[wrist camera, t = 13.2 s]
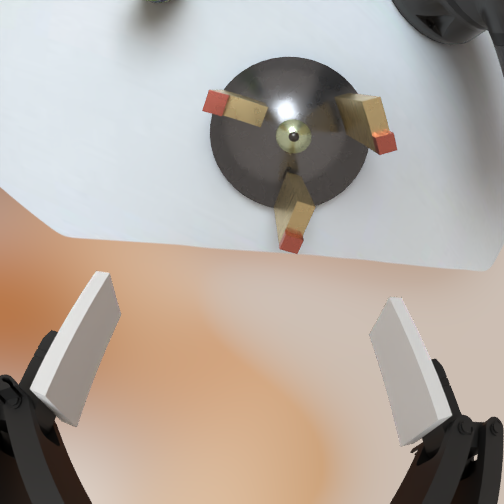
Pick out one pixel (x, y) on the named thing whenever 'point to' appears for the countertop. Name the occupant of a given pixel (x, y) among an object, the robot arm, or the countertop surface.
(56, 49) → the countertop surface
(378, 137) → the knob
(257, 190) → the tribrach plate
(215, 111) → the knob
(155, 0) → the beverage can
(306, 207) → the knob
